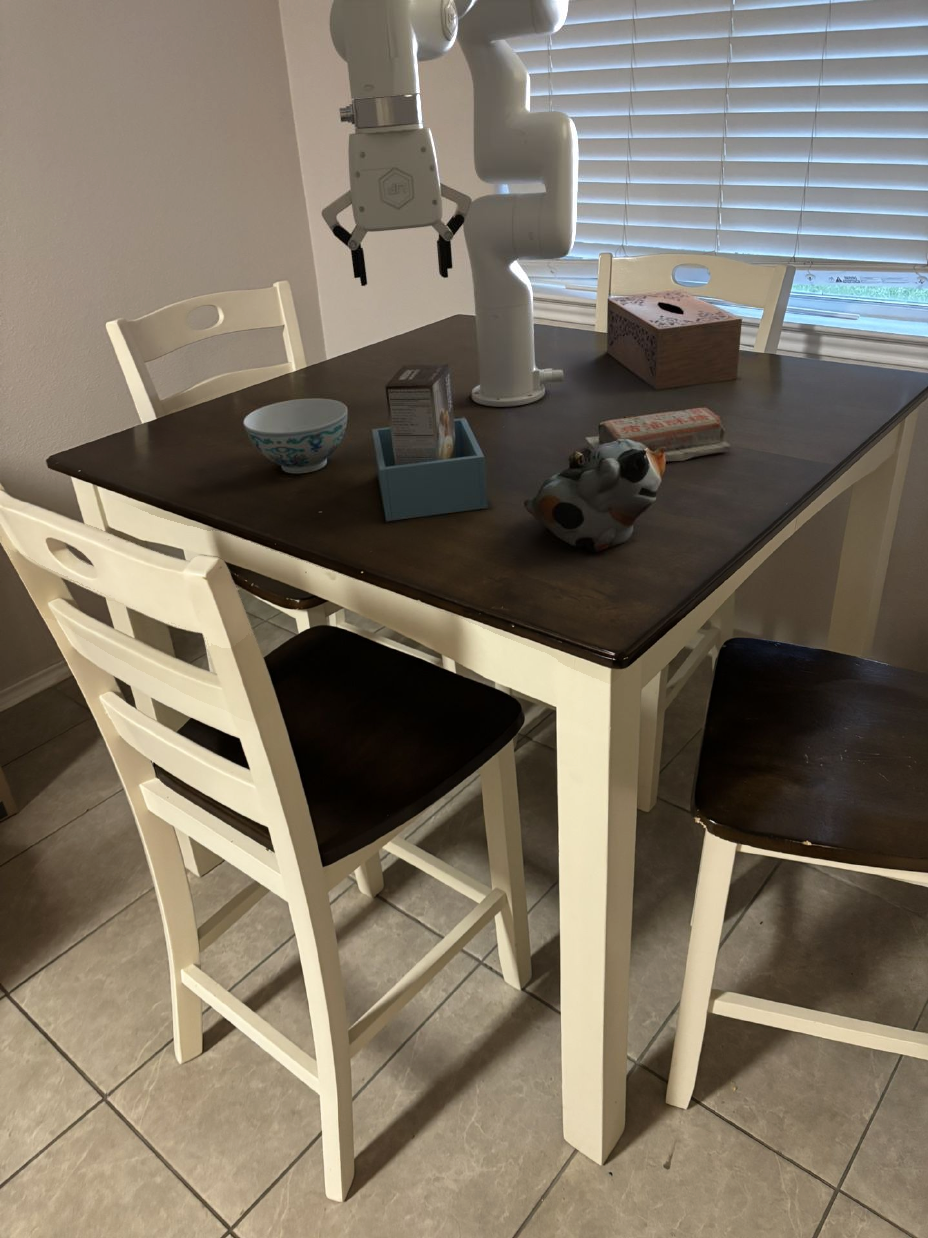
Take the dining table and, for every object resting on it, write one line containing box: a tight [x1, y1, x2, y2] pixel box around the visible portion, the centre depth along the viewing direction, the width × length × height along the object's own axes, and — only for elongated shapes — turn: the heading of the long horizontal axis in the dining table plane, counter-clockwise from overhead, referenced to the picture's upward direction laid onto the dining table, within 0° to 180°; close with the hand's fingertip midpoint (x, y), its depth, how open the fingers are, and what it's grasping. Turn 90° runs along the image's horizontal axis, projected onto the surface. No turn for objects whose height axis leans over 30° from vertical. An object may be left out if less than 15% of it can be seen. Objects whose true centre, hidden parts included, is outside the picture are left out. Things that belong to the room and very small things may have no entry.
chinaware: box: [242, 398, 349, 474], centre depth 131 cm, size 15×15×8 cm
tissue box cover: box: [606, 289, 743, 391], centre depth 160 cm, size 26×14×10 cm, turn 11°
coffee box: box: [384, 363, 457, 466], centre depth 117 cm, size 9×6×16 cm
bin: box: [371, 417, 488, 522], centre depth 119 cm, size 13×16×7 cm
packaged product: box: [585, 407, 732, 462], centre depth 126 cm, size 18×5×10 cm
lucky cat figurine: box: [523, 439, 667, 553], centre depth 103 cm, size 15×12×14 cm
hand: (404, 279), depth 107 cm, fingers open, 9 cm apart
